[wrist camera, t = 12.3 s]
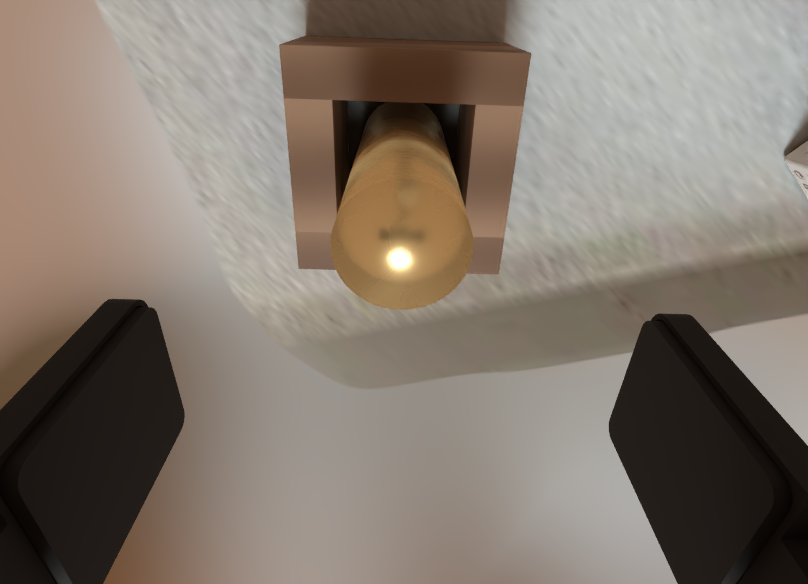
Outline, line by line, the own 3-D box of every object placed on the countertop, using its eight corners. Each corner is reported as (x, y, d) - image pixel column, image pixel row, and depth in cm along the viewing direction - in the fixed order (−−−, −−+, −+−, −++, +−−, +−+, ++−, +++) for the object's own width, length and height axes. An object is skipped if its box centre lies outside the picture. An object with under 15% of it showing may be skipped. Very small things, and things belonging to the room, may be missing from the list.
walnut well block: (305, 35, 25) (279, 44, 19) (504, 42, 25) (531, 53, 20) (317, 222, 30) (298, 268, 24) (482, 227, 30) (498, 274, 25)
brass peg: (362, 96, 26) (327, 177, 14) (445, 99, 26) (481, 181, 14) (363, 178, 28) (333, 307, 16) (440, 180, 28) (466, 311, 16)
